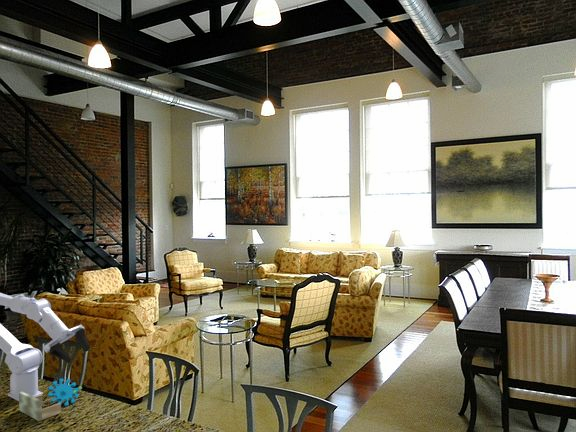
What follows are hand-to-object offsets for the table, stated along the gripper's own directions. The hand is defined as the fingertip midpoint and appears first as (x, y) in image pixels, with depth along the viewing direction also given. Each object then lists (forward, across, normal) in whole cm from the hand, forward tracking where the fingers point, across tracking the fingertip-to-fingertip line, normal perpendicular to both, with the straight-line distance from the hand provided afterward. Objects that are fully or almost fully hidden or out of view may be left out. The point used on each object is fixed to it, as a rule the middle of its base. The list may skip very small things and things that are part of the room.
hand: (79, 355), depth 156 cm
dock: (+5, -15, +13) cm, 20 cm away
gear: (+7, -7, +14) cm, 17 cm away
